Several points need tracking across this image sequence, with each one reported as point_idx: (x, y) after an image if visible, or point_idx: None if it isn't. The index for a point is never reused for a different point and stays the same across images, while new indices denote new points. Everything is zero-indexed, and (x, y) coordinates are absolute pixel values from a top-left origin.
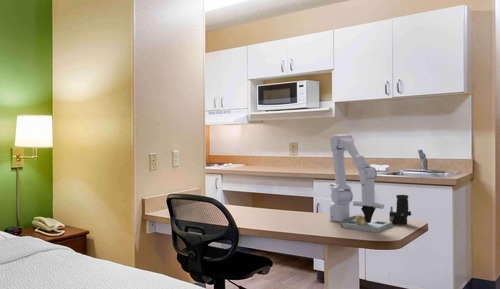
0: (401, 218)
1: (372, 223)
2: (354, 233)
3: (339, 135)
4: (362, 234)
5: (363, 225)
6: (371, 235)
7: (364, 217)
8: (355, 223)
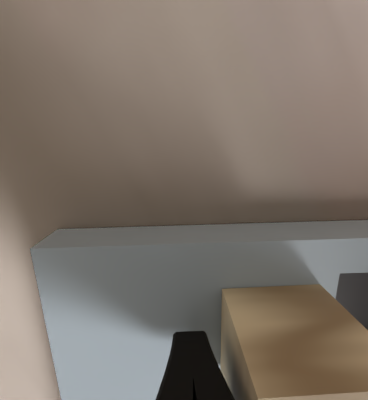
0: None
1: None
2: (215, 55)
3: None
4: (123, 70)
5: (221, 276)
6: (27, 92)
7: (248, 396)
8: None
